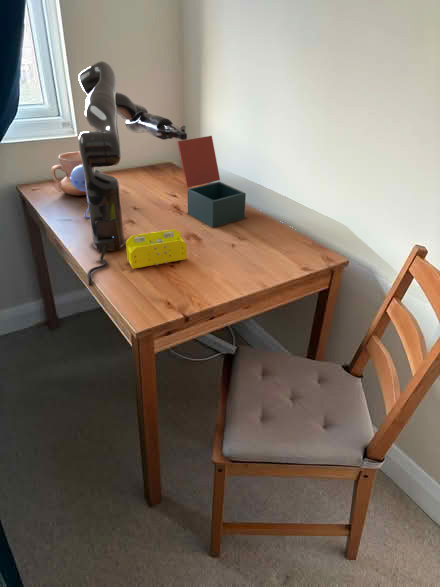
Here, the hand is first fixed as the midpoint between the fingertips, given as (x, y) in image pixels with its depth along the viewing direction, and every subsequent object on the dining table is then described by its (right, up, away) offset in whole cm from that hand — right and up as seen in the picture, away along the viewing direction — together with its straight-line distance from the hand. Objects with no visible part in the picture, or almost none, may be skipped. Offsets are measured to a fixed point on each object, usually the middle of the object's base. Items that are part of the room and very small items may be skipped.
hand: (185, 136), depth 159 cm
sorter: (+11, -28, 0) cm, 30 cm away
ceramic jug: (-42, -16, +17) cm, 48 cm away
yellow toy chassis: (-6, -46, -29) cm, 55 cm away
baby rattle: (-32, -29, -3) cm, 44 cm away
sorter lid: (+5, -9, -2) cm, 11 cm away
